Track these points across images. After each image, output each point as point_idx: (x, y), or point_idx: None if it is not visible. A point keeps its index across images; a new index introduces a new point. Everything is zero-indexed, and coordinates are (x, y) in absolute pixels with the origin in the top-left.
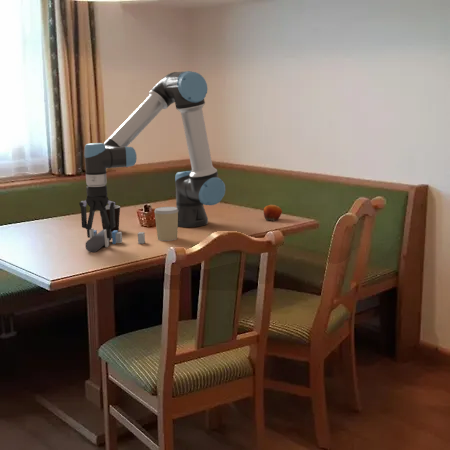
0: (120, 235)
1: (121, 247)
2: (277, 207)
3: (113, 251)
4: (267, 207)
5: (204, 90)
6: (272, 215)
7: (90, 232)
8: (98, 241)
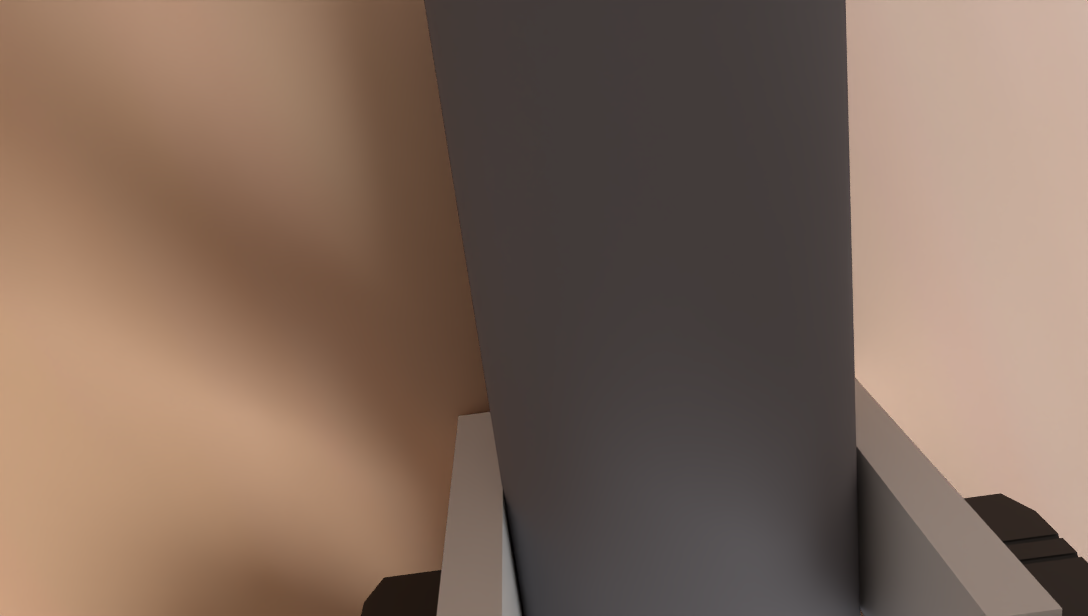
0: None
1: (134, 476)
2: None
3: (111, 103)
4: None
5: None
6: None
7: (981, 561)
8: (462, 59)
